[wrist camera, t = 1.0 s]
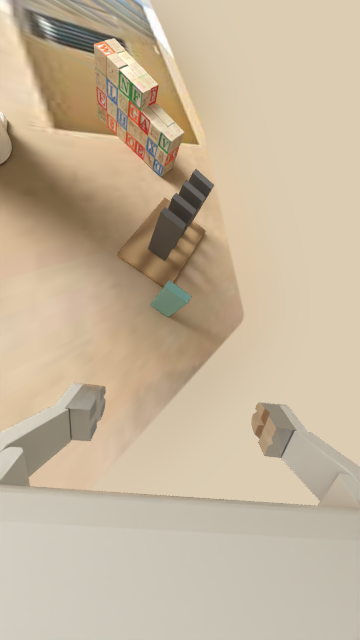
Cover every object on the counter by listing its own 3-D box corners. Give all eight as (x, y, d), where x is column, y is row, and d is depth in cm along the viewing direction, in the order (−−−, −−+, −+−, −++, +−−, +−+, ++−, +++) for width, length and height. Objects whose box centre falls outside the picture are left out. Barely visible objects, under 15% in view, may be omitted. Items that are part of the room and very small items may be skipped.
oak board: (117, 255, 42) (117, 253, 41) (164, 200, 49) (165, 197, 49) (167, 290, 44) (168, 289, 44) (204, 233, 52) (205, 230, 51)
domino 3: (157, 236, 45) (172, 197, 34) (160, 232, 46) (176, 192, 35) (173, 248, 46) (193, 214, 35) (176, 244, 47) (196, 210, 36)
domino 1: (173, 214, 48) (192, 172, 37) (176, 211, 49) (195, 168, 38) (188, 226, 49) (211, 189, 39) (191, 223, 50) (214, 185, 39)
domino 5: (150, 305, 42) (164, 286, 31) (153, 300, 43) (169, 280, 32) (167, 317, 43) (187, 303, 32) (171, 311, 44) (191, 296, 33)
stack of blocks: (172, 168, 53) (190, 117, 42) (160, 178, 51) (175, 126, 40) (113, 109, 50) (114, 36, 38) (96, 116, 47) (93, 41, 36)
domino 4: (147, 248, 44) (160, 211, 33) (151, 244, 44) (164, 206, 33) (164, 261, 45) (182, 229, 34) (167, 256, 45) (186, 224, 34)
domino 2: (165, 225, 47) (182, 184, 36) (168, 221, 47) (186, 180, 36) (181, 237, 48) (202, 201, 37) (184, 233, 48) (205, 197, 37)
